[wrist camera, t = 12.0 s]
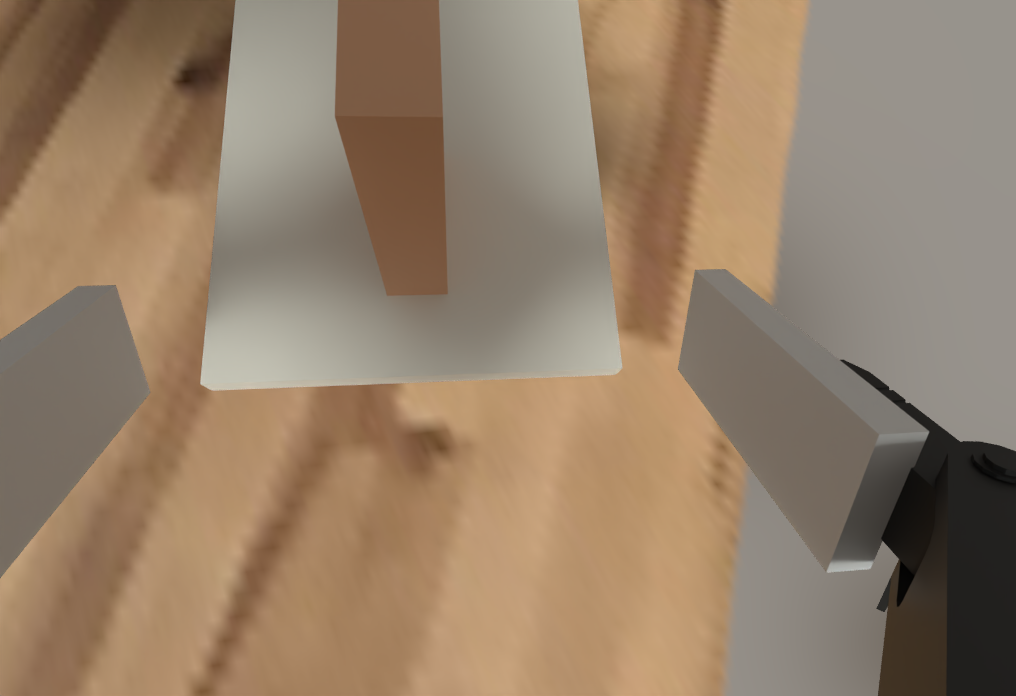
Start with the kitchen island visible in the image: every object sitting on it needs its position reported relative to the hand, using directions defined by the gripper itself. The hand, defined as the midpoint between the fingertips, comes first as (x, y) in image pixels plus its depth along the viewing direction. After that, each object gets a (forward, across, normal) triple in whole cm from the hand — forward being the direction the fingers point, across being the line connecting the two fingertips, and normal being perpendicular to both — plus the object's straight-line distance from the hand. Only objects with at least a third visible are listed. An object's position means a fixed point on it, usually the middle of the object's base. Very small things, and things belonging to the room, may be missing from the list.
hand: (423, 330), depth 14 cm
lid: (+8, 0, +3) cm, 9 cm away
